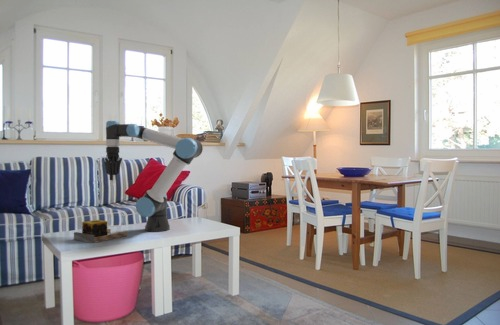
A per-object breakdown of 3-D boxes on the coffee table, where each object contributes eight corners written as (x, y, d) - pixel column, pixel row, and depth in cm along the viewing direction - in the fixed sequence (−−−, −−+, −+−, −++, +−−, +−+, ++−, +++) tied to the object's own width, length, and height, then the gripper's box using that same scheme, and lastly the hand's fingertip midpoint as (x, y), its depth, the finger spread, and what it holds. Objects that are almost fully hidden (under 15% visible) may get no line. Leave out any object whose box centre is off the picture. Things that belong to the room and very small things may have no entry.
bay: (109, 232, 238) (108, 226, 238) (126, 235, 229) (126, 229, 229) (73, 239, 219) (73, 232, 219) (92, 243, 210) (91, 235, 210)
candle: (91, 242, 213) (91, 223, 213) (81, 239, 219) (81, 221, 219) (108, 239, 221) (108, 221, 221) (97, 236, 227) (97, 219, 227)
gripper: (116, 146, 247) (117, 184, 247) (99, 146, 235) (99, 186, 236) (125, 146, 243) (125, 185, 243) (108, 146, 232) (108, 186, 232)
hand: (112, 185), depth 239 cm, fingers closed
